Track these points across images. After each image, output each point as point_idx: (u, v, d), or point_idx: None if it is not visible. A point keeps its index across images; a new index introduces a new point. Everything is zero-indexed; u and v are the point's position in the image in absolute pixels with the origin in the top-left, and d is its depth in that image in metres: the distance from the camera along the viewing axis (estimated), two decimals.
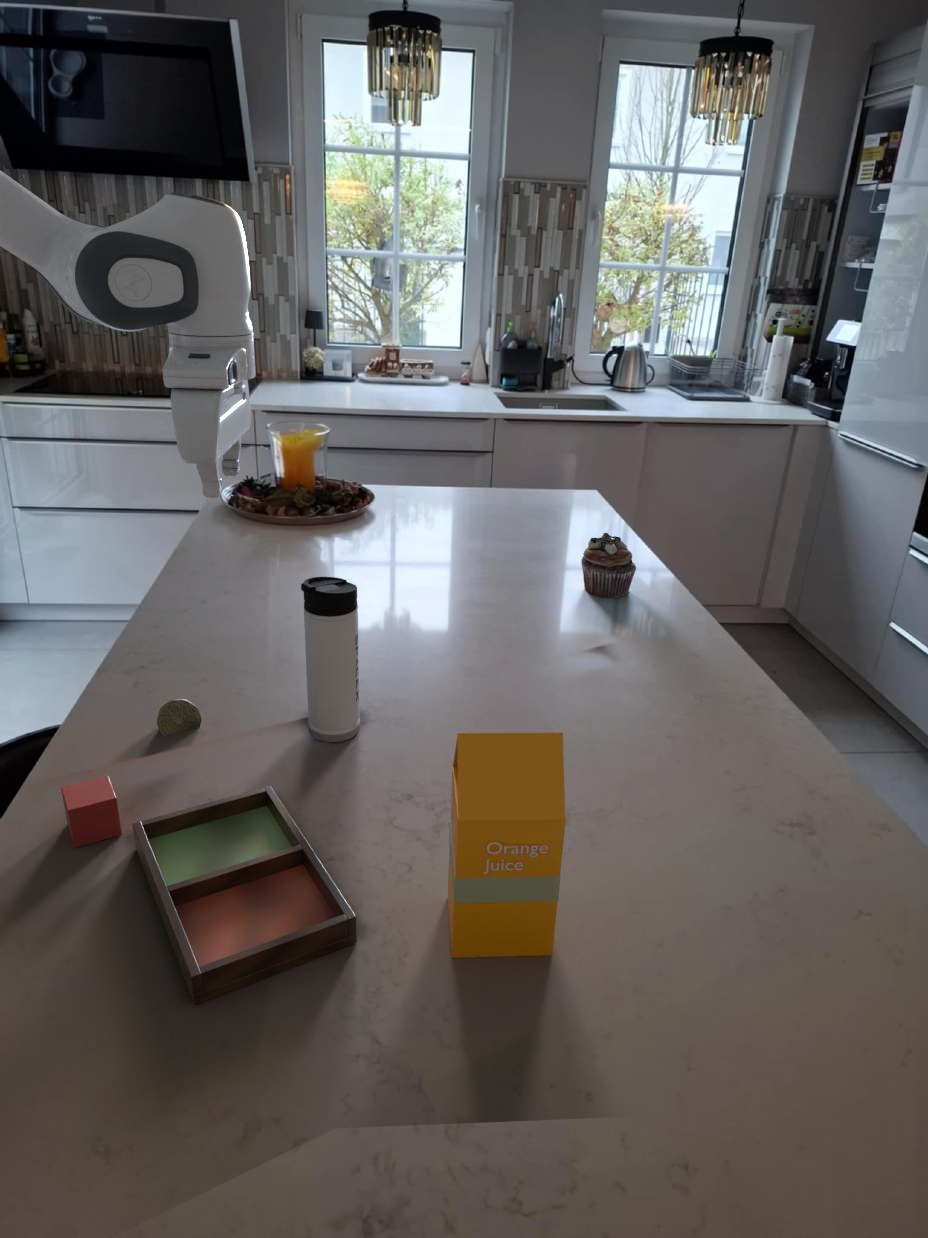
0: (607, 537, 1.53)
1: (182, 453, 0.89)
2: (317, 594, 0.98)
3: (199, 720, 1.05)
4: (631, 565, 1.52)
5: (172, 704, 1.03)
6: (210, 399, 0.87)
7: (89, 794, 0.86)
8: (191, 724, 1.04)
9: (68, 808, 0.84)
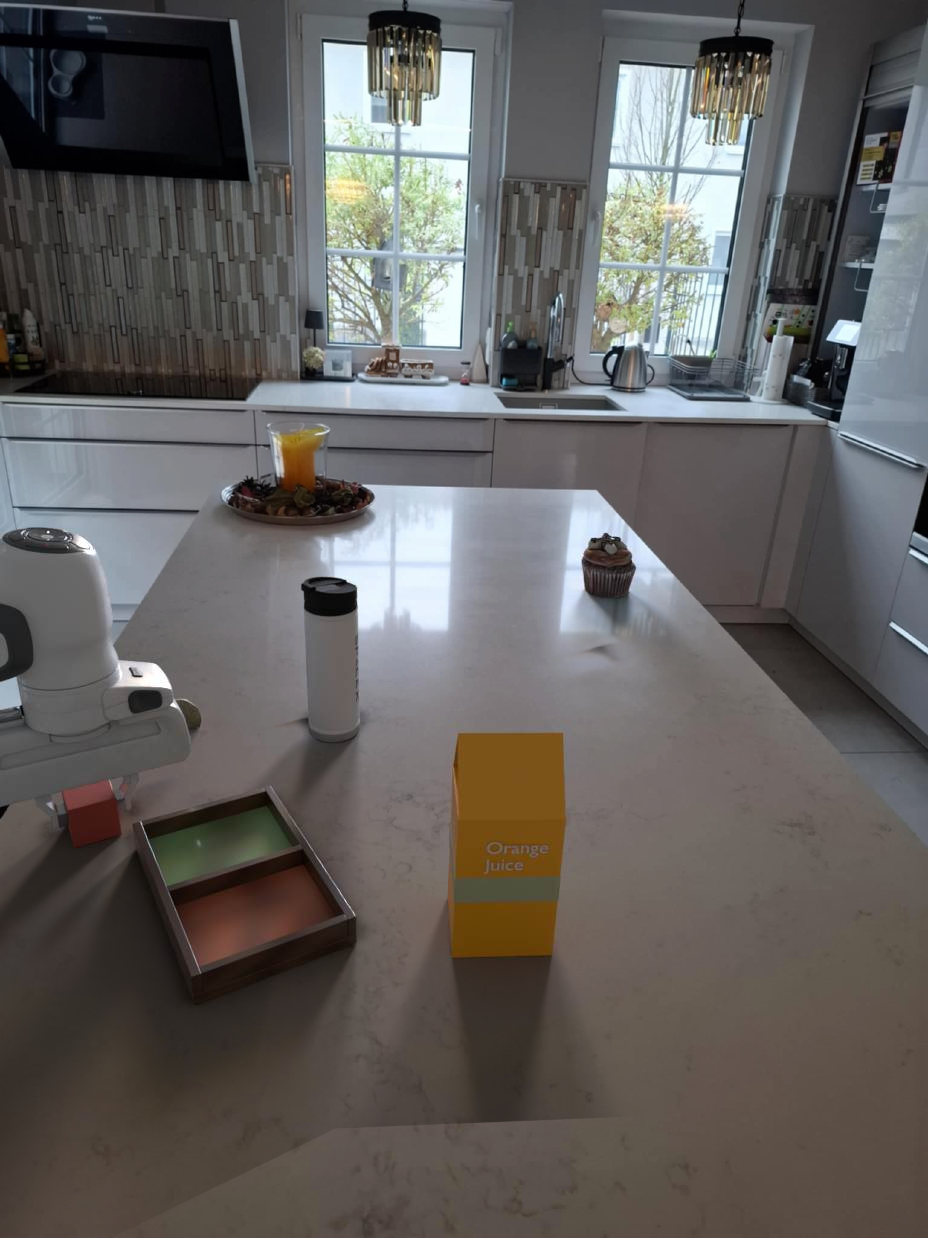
0: (607, 537, 1.53)
1: (191, 749, 0.89)
2: (317, 594, 0.98)
3: (199, 720, 1.05)
4: (631, 565, 1.52)
5: None
6: None
7: (89, 794, 0.86)
8: (191, 724, 1.04)
9: (68, 808, 0.84)
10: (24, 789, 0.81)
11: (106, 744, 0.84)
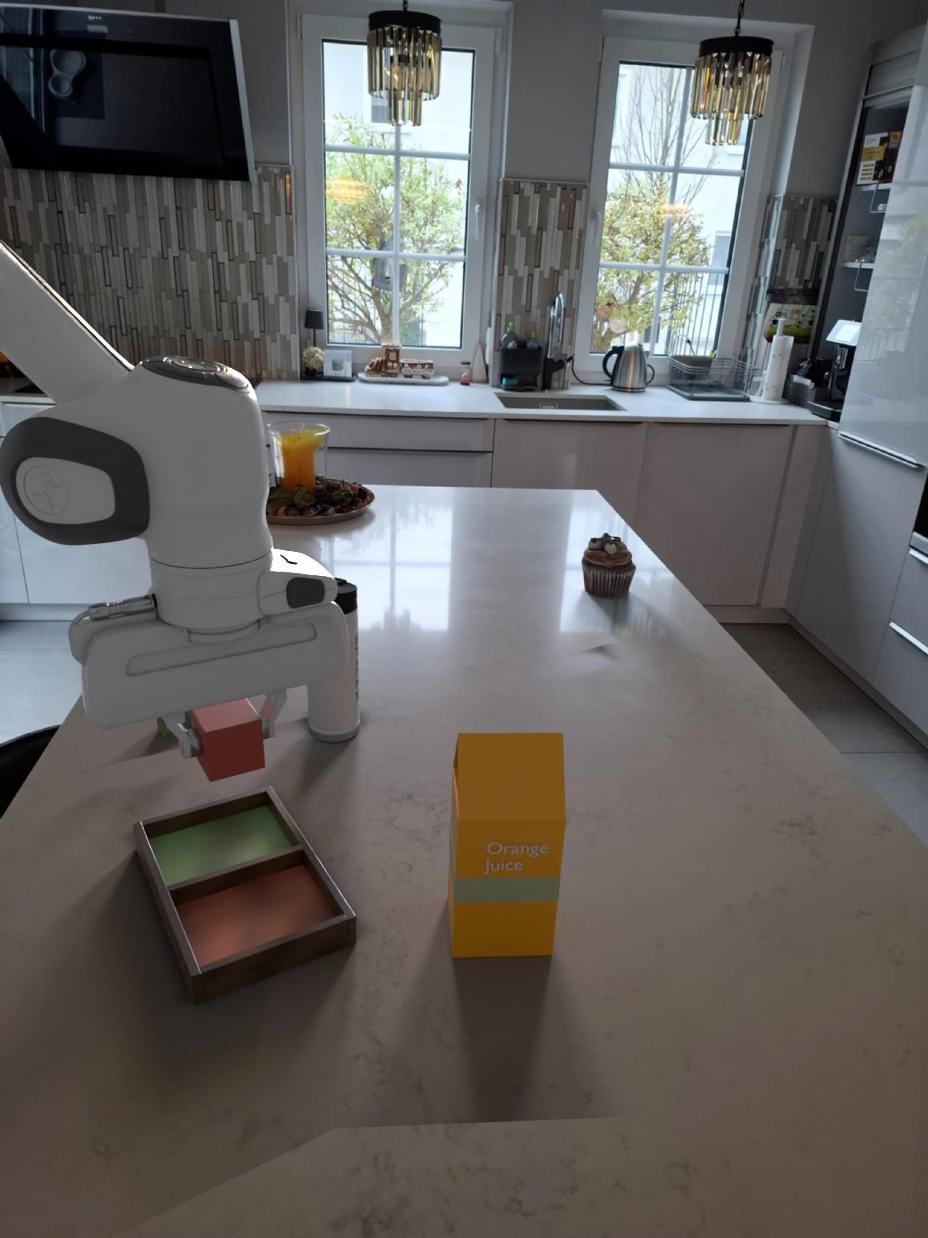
0: (607, 537, 1.53)
1: (349, 662, 0.72)
2: None
3: None
4: (631, 565, 1.52)
5: None
6: None
7: (227, 715, 0.69)
8: (191, 724, 1.04)
9: (205, 730, 0.67)
10: (155, 703, 0.64)
11: (253, 649, 0.67)
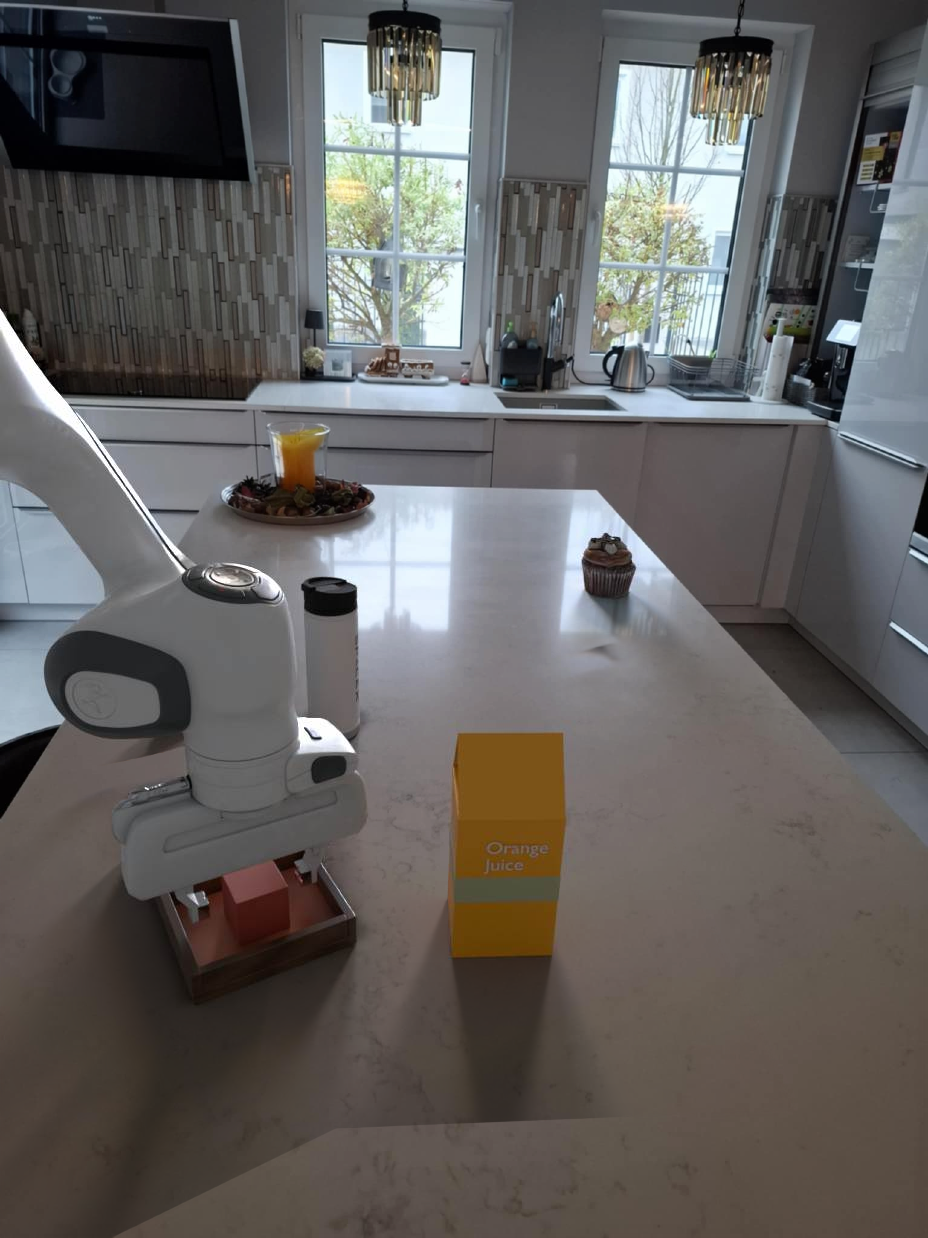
0: (607, 537, 1.53)
1: (366, 819, 0.77)
2: (317, 594, 0.98)
3: None
4: (631, 565, 1.52)
5: None
6: None
7: (256, 882, 0.74)
8: None
9: (236, 901, 0.72)
10: (188, 874, 0.69)
11: (279, 818, 0.72)
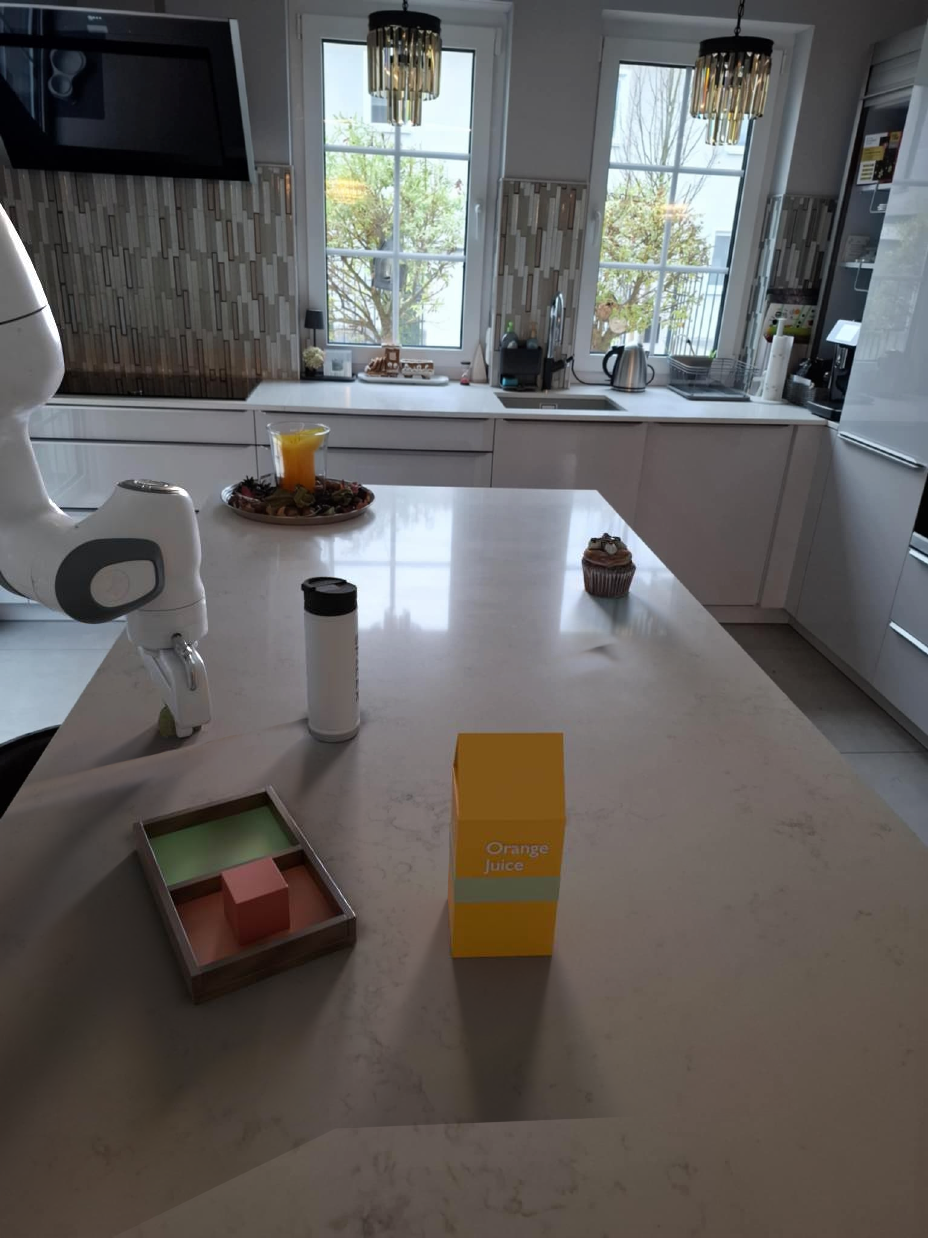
0: (607, 537, 1.53)
1: None
2: (317, 594, 0.98)
3: None
4: (631, 565, 1.52)
5: None
6: None
7: (256, 882, 0.74)
8: None
9: (236, 901, 0.72)
10: None
11: None
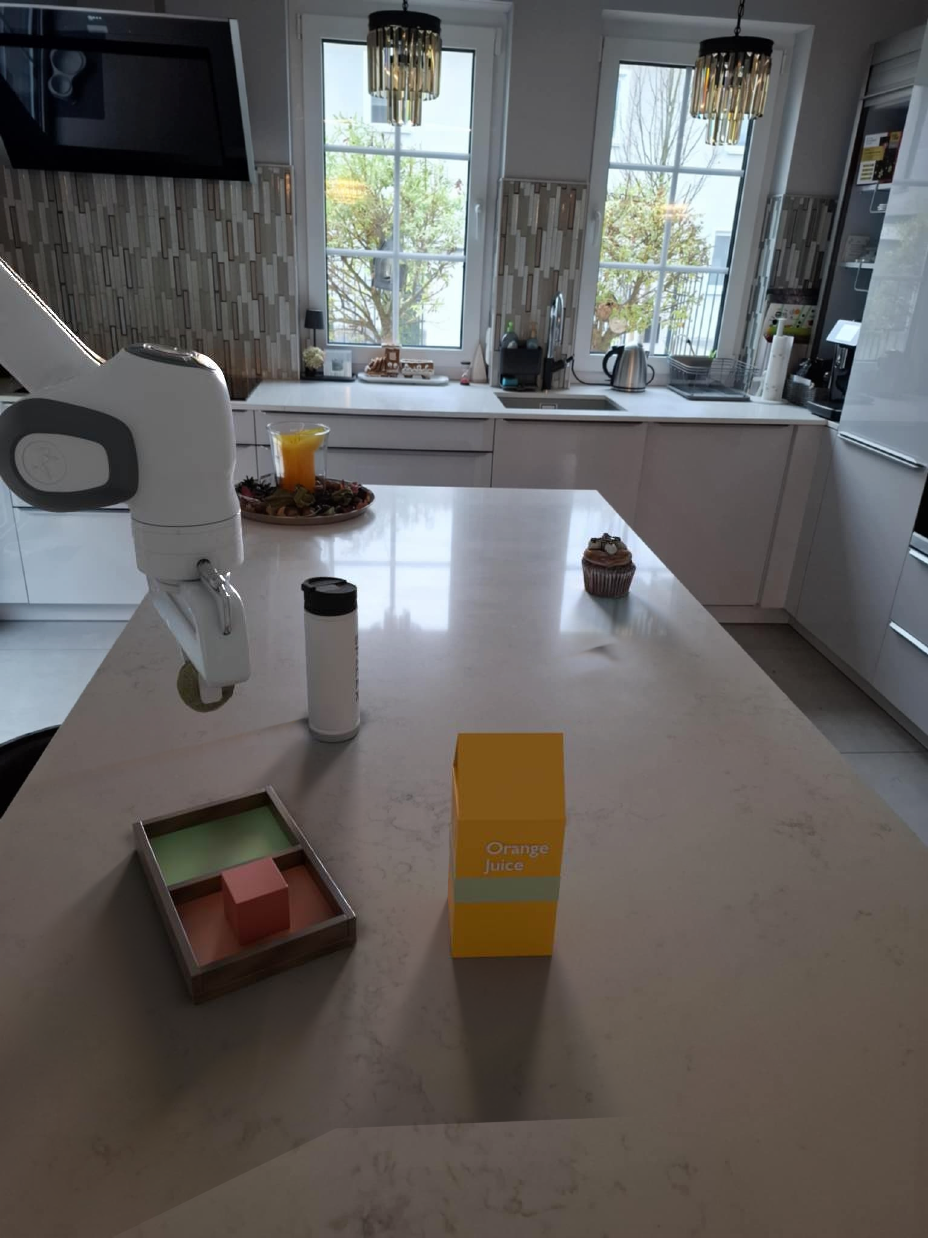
0: (607, 537, 1.53)
1: None
2: (317, 594, 0.98)
3: None
4: (631, 565, 1.52)
5: None
6: None
7: (256, 882, 0.74)
8: (222, 688, 0.79)
9: (236, 901, 0.72)
10: None
11: None
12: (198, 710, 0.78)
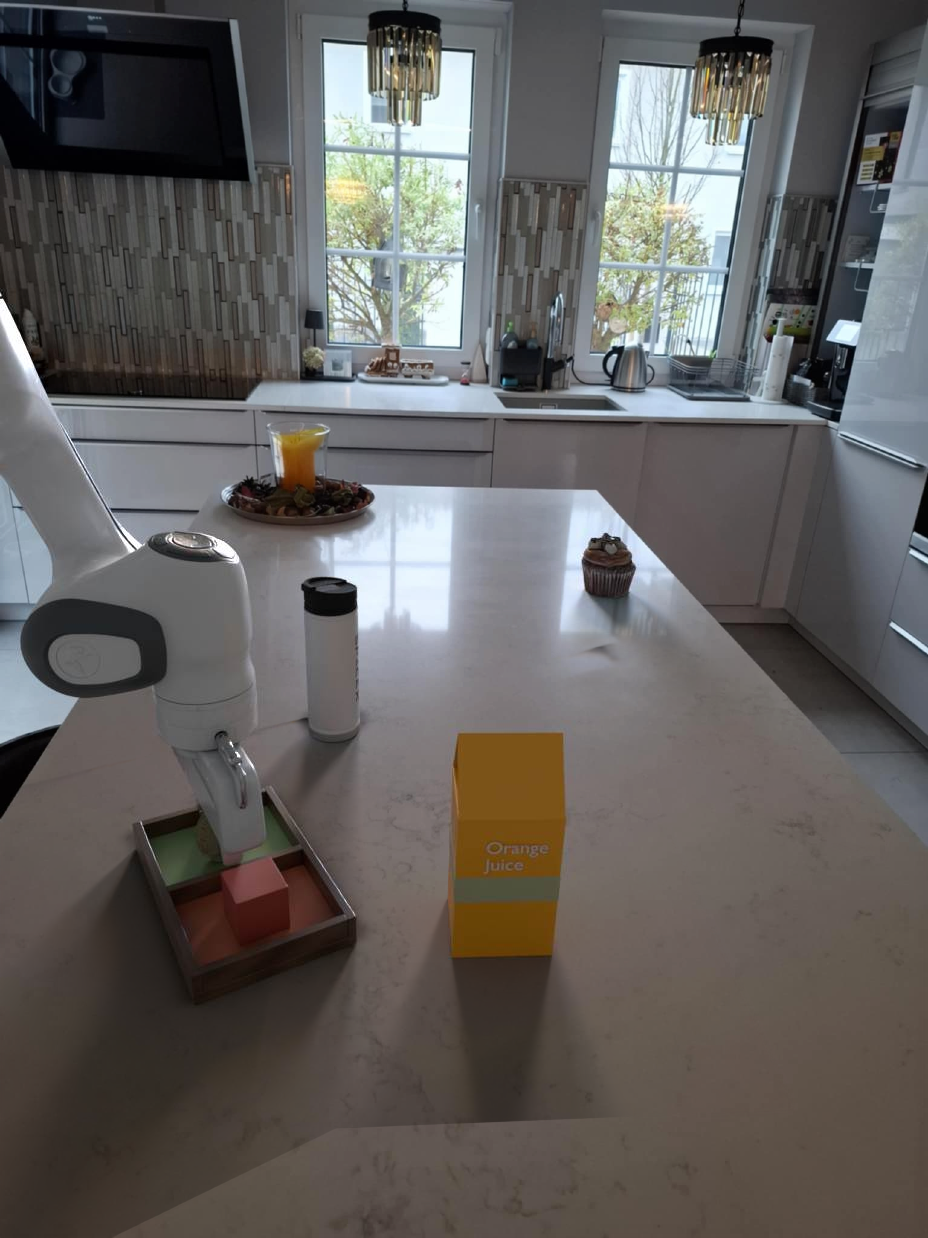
0: (607, 537, 1.53)
1: None
2: (317, 594, 0.98)
3: None
4: (631, 565, 1.52)
5: None
6: None
7: (256, 882, 0.74)
8: None
9: (236, 901, 0.72)
10: None
11: None
12: (215, 859, 0.82)
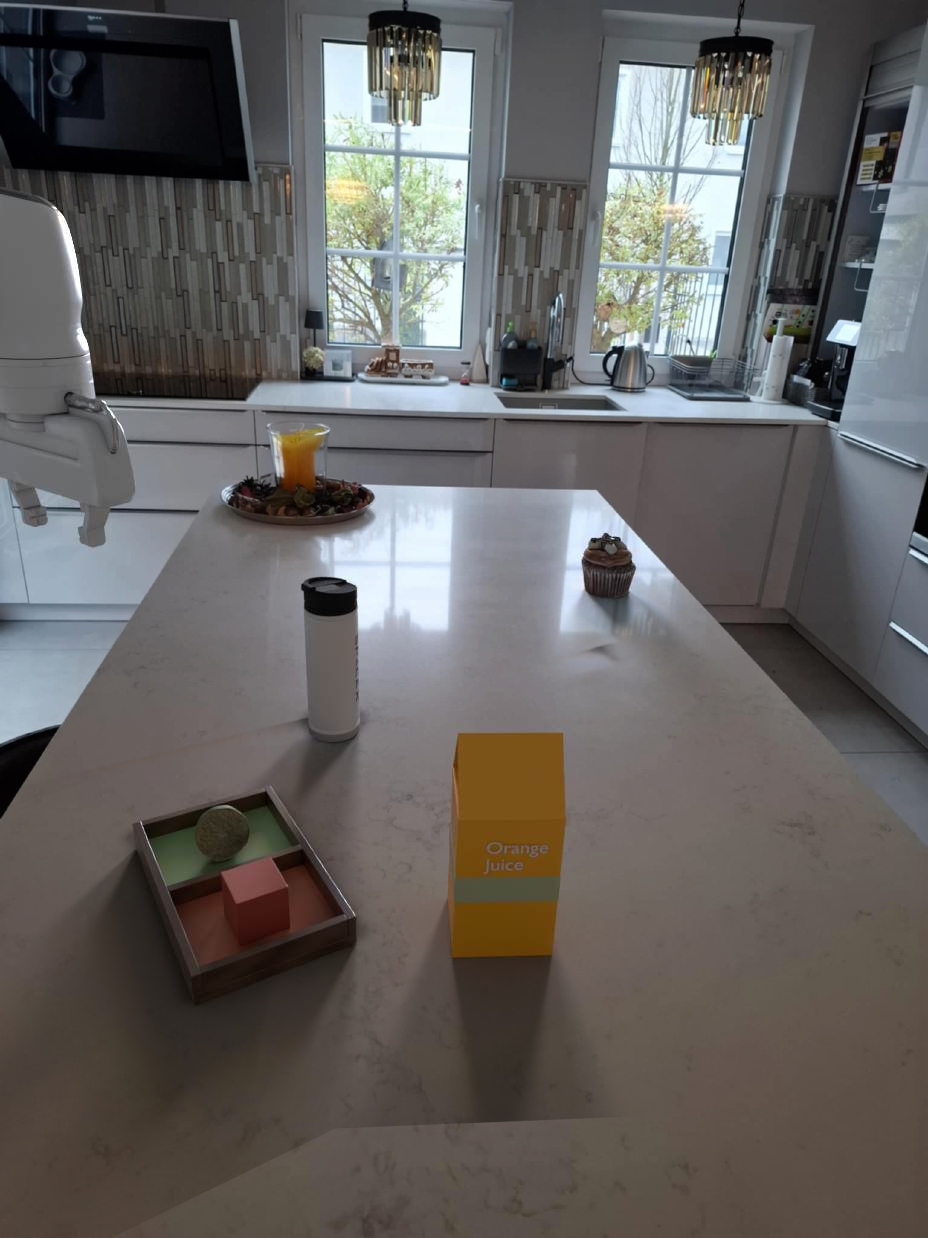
0: (607, 537, 1.53)
1: None
2: (317, 594, 0.98)
3: (247, 832, 0.84)
4: (631, 565, 1.52)
5: (213, 814, 0.82)
6: None
7: (256, 882, 0.74)
8: (237, 837, 0.83)
9: (236, 901, 0.72)
10: None
11: None
12: (215, 859, 0.82)
